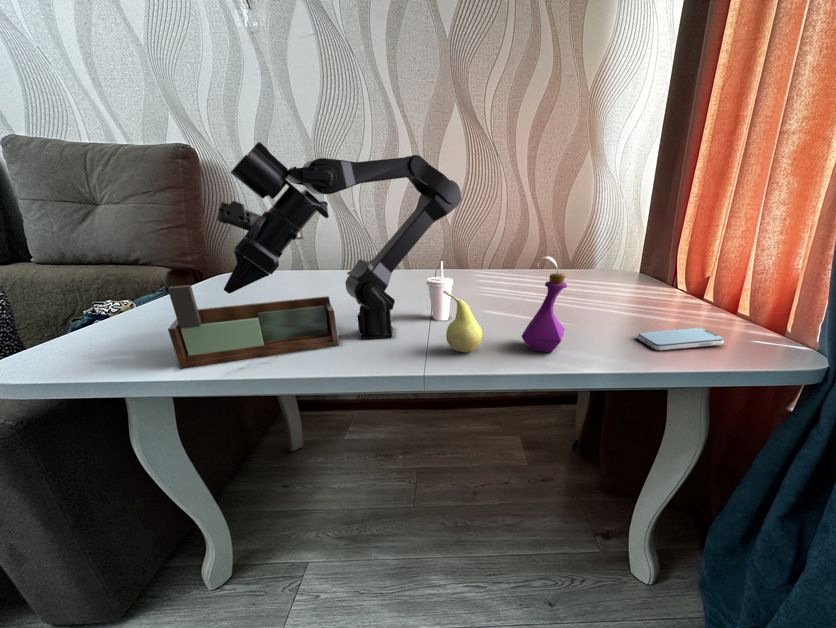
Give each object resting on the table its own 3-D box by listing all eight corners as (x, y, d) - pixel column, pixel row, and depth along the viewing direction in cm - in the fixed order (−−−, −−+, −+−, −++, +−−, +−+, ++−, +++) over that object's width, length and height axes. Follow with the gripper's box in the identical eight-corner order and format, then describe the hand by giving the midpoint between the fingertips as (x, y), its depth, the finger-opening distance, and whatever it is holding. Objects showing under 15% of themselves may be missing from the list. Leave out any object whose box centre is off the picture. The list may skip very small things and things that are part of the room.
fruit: (479, 359, 70) (480, 296, 66) (440, 356, 72) (438, 294, 67) (484, 346, 76) (485, 287, 72) (448, 343, 78) (447, 286, 73)
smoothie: (450, 323, 90) (449, 263, 85) (424, 321, 91) (422, 262, 86) (456, 315, 96) (455, 259, 91) (432, 313, 97) (430, 258, 92)
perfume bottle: (563, 343, 78) (572, 254, 71) (559, 357, 71) (569, 260, 64) (527, 339, 80) (533, 252, 73) (520, 352, 73) (525, 258, 67)
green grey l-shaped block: (264, 346, 73) (250, 280, 68) (264, 349, 72) (249, 281, 67) (191, 357, 69) (169, 286, 64) (189, 360, 67) (167, 288, 62)
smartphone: (635, 332, 80) (700, 326, 82) (634, 339, 81) (698, 334, 83) (657, 345, 73) (727, 338, 75) (656, 353, 74) (725, 346, 76)
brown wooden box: (333, 333, 83) (328, 296, 80) (338, 345, 77) (333, 305, 73) (189, 353, 73) (176, 311, 70) (180, 369, 66) (165, 323, 63)
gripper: (246, 184, 70) (192, 248, 70) (237, 181, 54) (167, 263, 54) (299, 227, 76) (249, 286, 76) (304, 235, 60) (241, 310, 60)
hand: (229, 286), depth 67 cm, fingers open, 9 cm apart
